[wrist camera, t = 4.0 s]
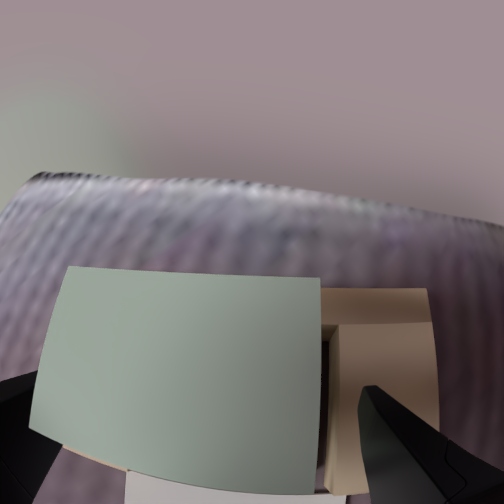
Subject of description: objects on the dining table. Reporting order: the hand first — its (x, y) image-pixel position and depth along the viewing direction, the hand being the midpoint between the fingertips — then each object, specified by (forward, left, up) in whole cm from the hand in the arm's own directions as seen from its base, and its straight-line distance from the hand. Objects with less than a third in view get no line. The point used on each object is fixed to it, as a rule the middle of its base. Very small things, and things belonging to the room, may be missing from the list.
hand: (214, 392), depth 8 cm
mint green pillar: (0, 0, -8) cm, 8 cm away
